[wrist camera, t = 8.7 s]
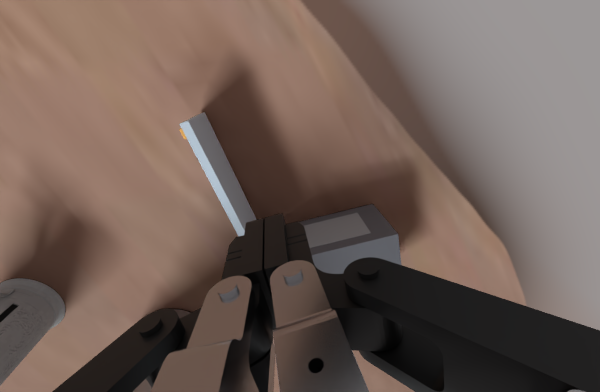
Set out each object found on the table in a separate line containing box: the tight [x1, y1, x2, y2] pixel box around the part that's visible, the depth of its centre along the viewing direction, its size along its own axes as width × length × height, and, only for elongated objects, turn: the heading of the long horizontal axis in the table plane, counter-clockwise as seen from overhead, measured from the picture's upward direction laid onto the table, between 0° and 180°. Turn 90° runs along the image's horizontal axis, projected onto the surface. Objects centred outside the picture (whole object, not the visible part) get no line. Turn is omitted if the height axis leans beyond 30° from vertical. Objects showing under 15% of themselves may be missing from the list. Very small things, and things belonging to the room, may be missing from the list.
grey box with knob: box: [299, 204, 401, 274], centre depth 36 cm, size 17×10×9 cm, turn 102°
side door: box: [179, 112, 257, 236], centre depth 31 cm, size 16×2×7 cm, turn 20°
